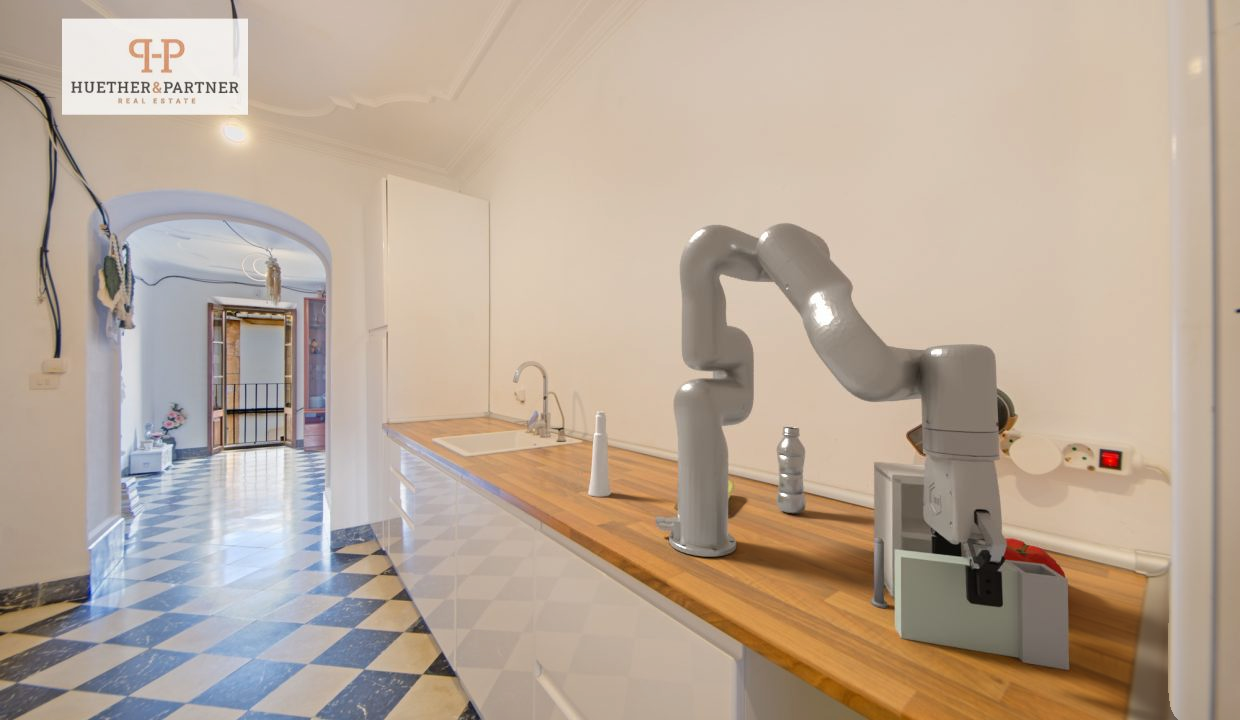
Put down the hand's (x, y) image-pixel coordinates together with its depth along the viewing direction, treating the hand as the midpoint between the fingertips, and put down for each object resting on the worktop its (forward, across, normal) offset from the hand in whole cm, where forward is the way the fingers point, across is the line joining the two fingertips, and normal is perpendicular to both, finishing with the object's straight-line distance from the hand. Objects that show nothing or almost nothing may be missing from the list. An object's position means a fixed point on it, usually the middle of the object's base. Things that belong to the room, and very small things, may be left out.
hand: (964, 584), depth 53 cm
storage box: (+7, 0, +1) cm, 7 cm away
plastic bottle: (+6, -48, -16) cm, 51 cm away
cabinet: (+7, -13, -1) cm, 15 cm away
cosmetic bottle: (+6, -47, -64) cm, 80 cm away
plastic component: (+6, -49, -36) cm, 61 cm away
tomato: (+8, -20, +15) cm, 26 cm away
